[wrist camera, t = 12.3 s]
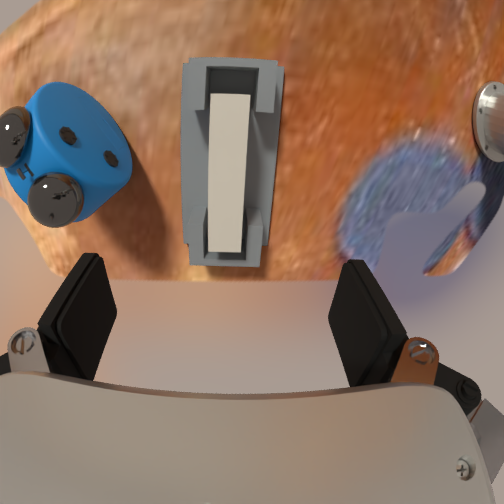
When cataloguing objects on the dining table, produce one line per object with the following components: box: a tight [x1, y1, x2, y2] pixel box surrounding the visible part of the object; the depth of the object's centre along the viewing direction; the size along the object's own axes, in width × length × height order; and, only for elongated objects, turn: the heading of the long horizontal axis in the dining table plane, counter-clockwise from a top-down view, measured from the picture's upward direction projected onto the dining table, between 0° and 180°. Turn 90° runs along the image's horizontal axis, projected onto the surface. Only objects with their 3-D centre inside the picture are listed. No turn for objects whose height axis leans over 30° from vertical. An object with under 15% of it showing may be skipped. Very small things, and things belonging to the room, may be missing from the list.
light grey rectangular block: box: [208, 93, 250, 252], centre depth 26 cm, size 3×14×7 cm, turn 176°
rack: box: [181, 57, 284, 267], centre depth 27 cm, size 10×21×6 cm, turn 176°
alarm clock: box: [0, 82, 133, 228], centre depth 21 cm, size 13×6×15 cm, turn 31°
